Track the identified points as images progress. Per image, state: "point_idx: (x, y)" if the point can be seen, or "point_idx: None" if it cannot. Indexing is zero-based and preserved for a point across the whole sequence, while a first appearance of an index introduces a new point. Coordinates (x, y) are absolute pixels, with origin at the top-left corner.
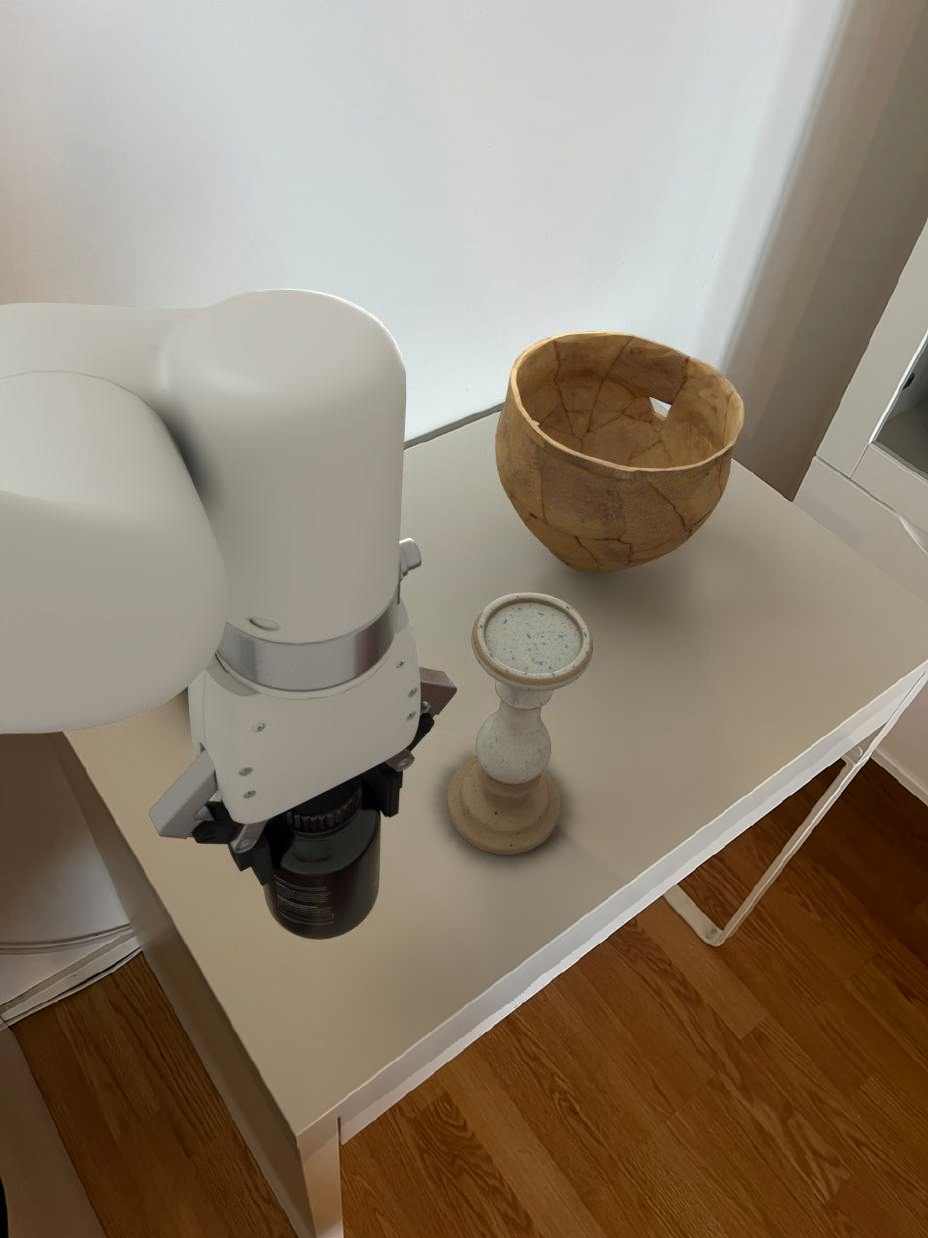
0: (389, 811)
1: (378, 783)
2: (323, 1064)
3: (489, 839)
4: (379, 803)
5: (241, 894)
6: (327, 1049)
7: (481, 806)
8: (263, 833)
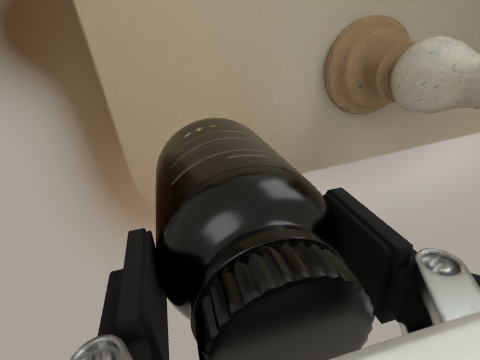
0: None
1: (353, 270)
2: None
3: (340, 97)
4: None
5: (144, 39)
6: None
7: (355, 74)
8: (169, 287)
